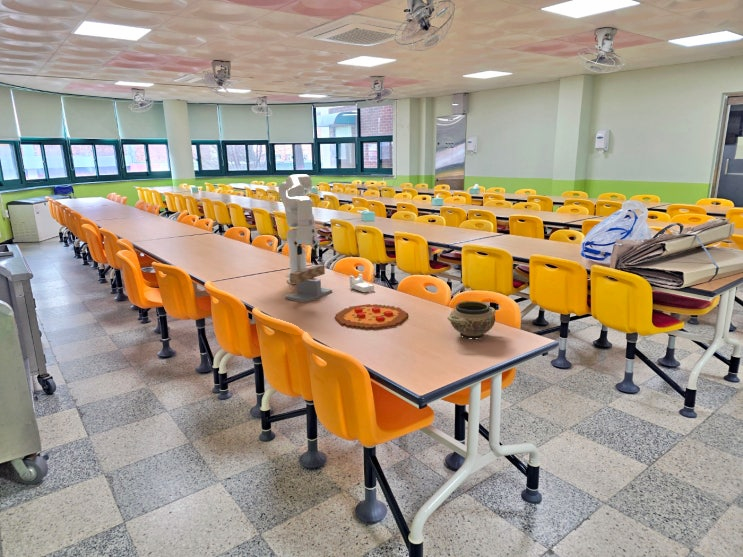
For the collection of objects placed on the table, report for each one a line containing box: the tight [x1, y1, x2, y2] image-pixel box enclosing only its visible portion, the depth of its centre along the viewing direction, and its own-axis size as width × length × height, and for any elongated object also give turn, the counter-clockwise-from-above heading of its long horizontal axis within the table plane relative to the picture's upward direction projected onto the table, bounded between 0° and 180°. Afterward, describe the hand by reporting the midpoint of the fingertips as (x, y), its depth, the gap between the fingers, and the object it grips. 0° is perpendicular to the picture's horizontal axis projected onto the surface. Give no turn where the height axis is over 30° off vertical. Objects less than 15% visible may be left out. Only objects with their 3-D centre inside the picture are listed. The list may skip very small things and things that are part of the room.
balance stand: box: [284, 277, 333, 303], centre depth 257 cm, size 14×22×10 cm, turn 148°
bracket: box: [349, 273, 375, 293], centre depth 266 cm, size 13×7×8 cm, turn 36°
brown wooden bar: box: [289, 264, 326, 285], centre depth 255 cm, size 24×4×5 cm, turn 148°
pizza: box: [334, 303, 409, 331], centre depth 221 cm, size 32×32×3 cm
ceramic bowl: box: [447, 300, 496, 340], centre depth 195 cm, size 24×18×15 cm
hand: (307, 255), depth 253 cm, fingers open, 9 cm apart
